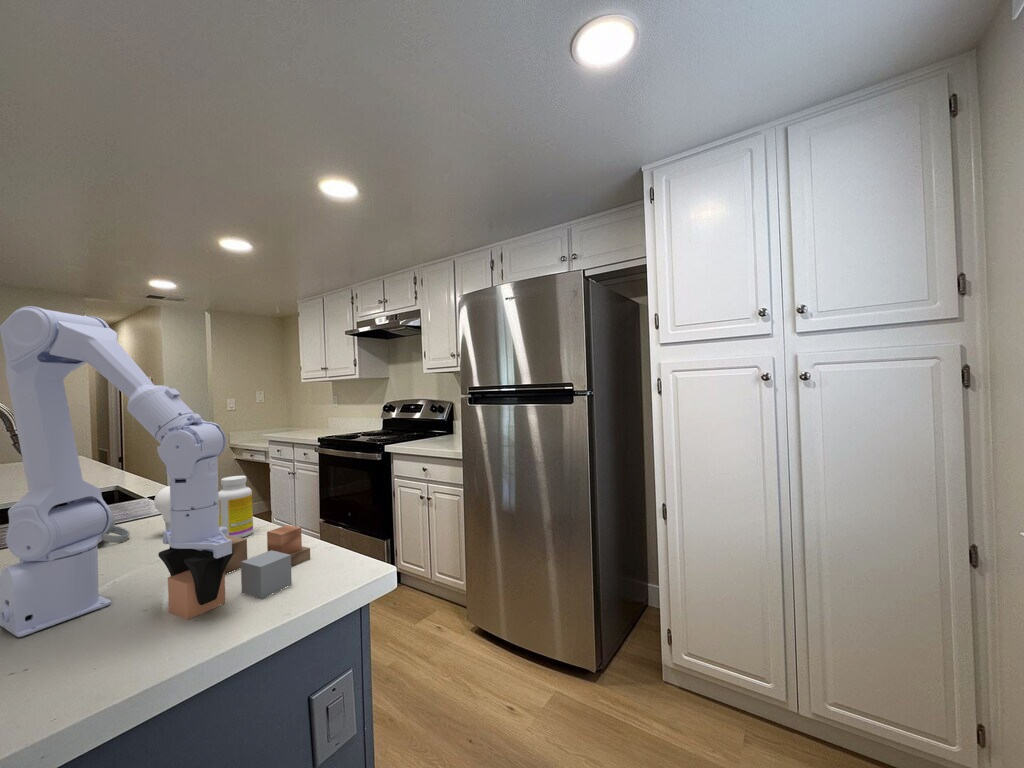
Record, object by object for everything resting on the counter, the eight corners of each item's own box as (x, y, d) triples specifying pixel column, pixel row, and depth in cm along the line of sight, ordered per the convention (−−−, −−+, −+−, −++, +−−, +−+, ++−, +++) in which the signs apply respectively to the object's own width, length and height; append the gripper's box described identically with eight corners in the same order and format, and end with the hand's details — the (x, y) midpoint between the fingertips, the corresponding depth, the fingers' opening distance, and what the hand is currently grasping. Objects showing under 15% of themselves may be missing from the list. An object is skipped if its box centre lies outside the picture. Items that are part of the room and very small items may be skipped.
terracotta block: (187, 619, 59) (186, 584, 59) (168, 612, 61) (167, 577, 61) (225, 603, 63) (224, 569, 63) (206, 596, 66) (205, 564, 66)
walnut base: (201, 586, 70) (201, 555, 70) (170, 579, 72) (169, 550, 72) (247, 566, 77) (246, 538, 77) (217, 561, 80) (217, 534, 80)
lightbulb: (160, 532, 97) (159, 484, 97) (194, 527, 100) (192, 481, 100) (150, 541, 91) (149, 490, 91) (186, 535, 94) (185, 486, 94)
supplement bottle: (260, 530, 96) (258, 474, 96) (238, 541, 89) (237, 480, 90) (232, 530, 97) (231, 474, 97) (209, 541, 90) (208, 481, 90)
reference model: (280, 571, 74) (279, 537, 74) (259, 565, 77) (258, 532, 77) (310, 558, 79) (309, 526, 79) (289, 553, 82) (288, 522, 82)
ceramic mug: (53, 557, 84) (53, 518, 84) (67, 544, 90) (67, 508, 90) (125, 545, 89) (125, 509, 89) (133, 534, 96) (133, 501, 96)
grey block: (261, 599, 64) (260, 567, 64) (241, 593, 66) (240, 561, 66) (291, 585, 69) (290, 554, 69) (272, 579, 71) (271, 550, 71)
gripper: (252, 503, 63) (254, 595, 63) (197, 494, 69) (199, 577, 69) (199, 517, 56) (202, 619, 56) (145, 505, 63) (147, 597, 63)
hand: (197, 597), depth 62 cm, fingers closed on terracotta block, 5 cm apart
